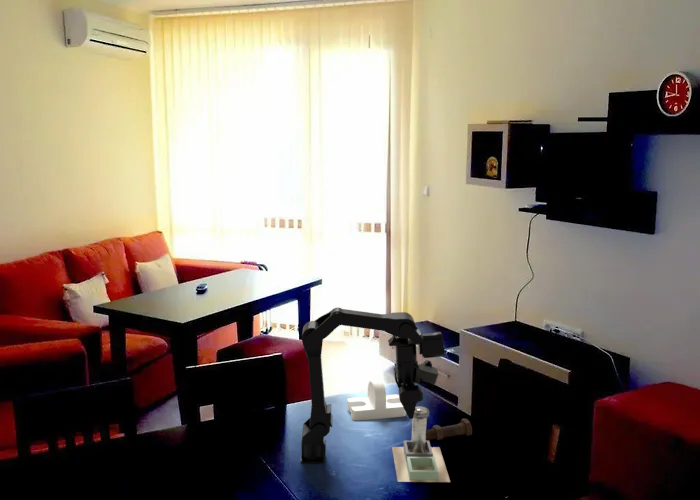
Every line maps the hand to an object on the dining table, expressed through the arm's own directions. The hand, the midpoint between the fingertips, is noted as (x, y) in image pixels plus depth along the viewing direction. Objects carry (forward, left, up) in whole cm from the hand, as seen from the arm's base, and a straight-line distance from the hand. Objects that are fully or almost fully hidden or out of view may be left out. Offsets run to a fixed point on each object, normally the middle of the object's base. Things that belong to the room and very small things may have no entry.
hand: (409, 410), depth 177 cm
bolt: (+13, +12, -15) cm, 23 cm away
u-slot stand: (-7, +29, -15) cm, 33 cm away
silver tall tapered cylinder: (+3, 0, -14) cm, 14 cm away
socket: (+3, -9, -15) cm, 17 cm away
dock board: (+3, -5, -15) cm, 16 cm away
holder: (+3, 0, -15) cm, 15 cm away
